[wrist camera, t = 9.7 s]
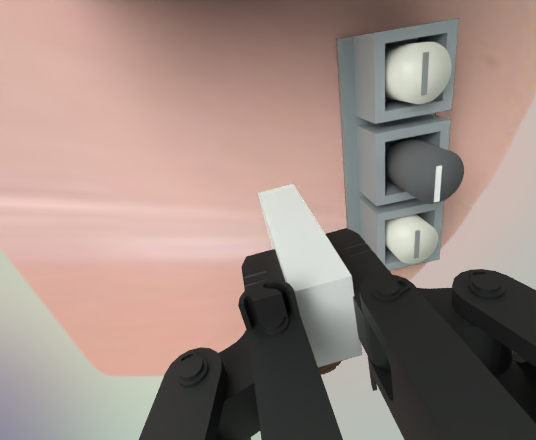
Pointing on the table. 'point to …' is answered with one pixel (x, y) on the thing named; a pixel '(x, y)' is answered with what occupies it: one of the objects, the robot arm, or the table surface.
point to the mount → (387, 132)
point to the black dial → (423, 169)
